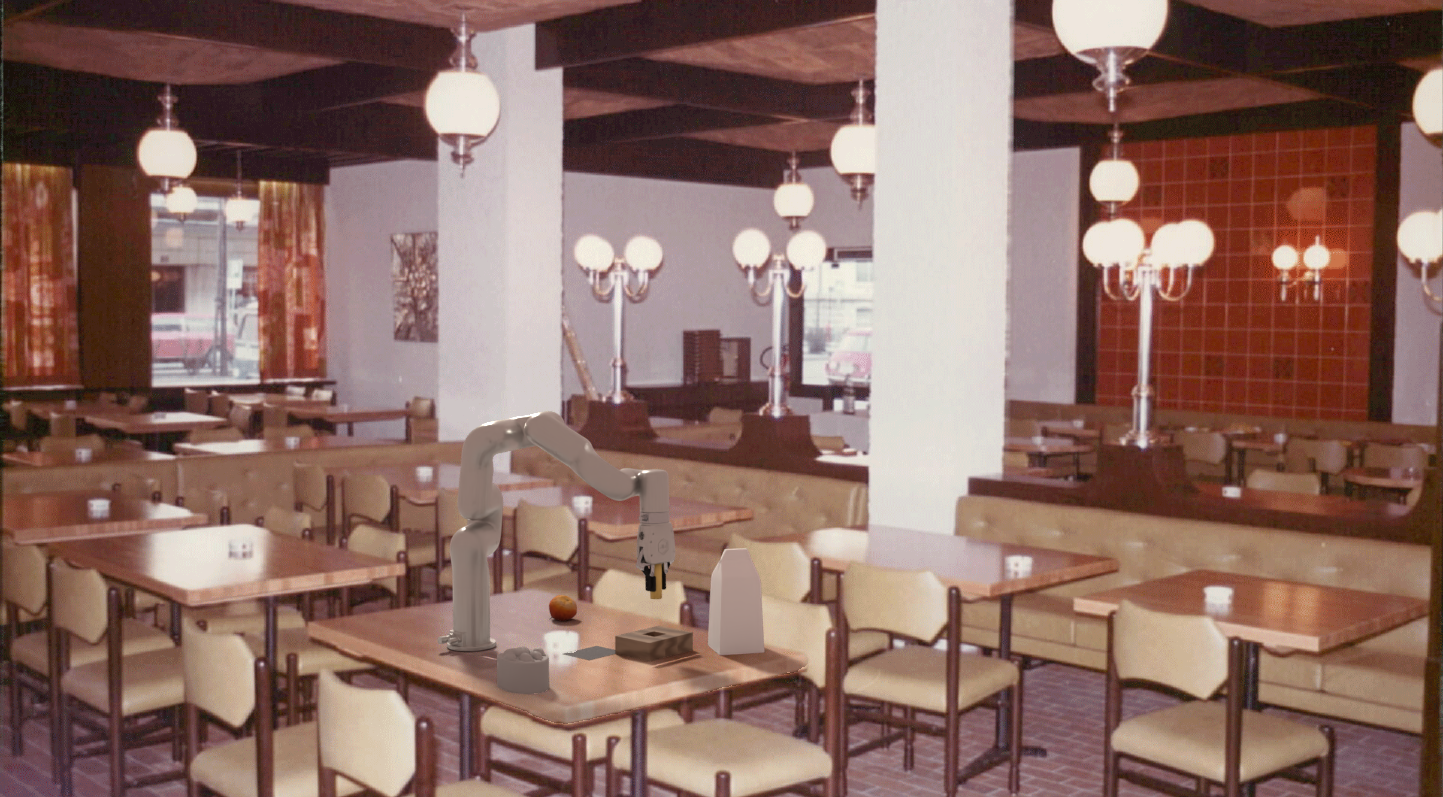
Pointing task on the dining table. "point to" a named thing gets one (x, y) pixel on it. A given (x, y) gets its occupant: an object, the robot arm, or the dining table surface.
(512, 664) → the lumpy-topped squat cylinder
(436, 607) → the dining table surface
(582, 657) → the mat
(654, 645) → the hole block
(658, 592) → the peg
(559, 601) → the fruit
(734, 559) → the milk
